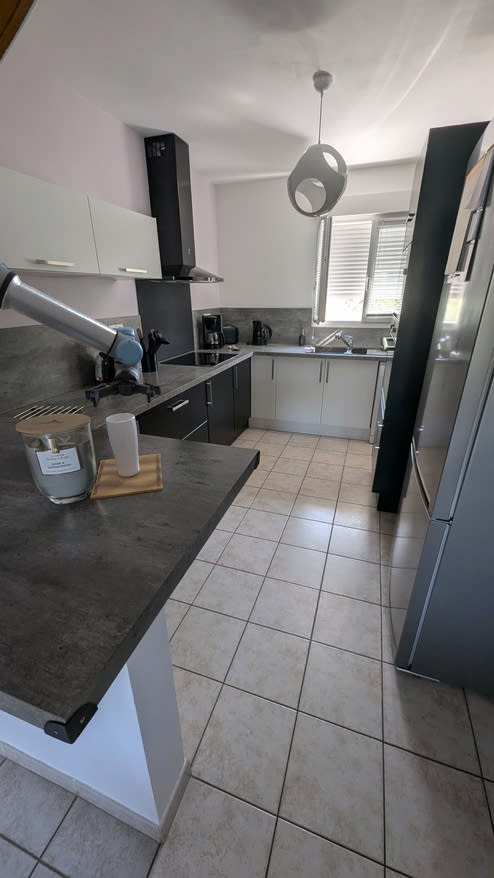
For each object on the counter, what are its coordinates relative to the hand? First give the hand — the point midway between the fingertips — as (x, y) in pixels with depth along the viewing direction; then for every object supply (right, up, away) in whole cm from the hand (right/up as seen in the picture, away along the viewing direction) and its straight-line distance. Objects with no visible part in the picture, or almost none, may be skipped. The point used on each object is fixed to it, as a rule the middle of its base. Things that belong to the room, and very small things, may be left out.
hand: (121, 400), depth 93 cm
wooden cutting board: (+3, -19, -2) cm, 20 cm away
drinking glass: (+3, -19, -2) cm, 19 cm away
